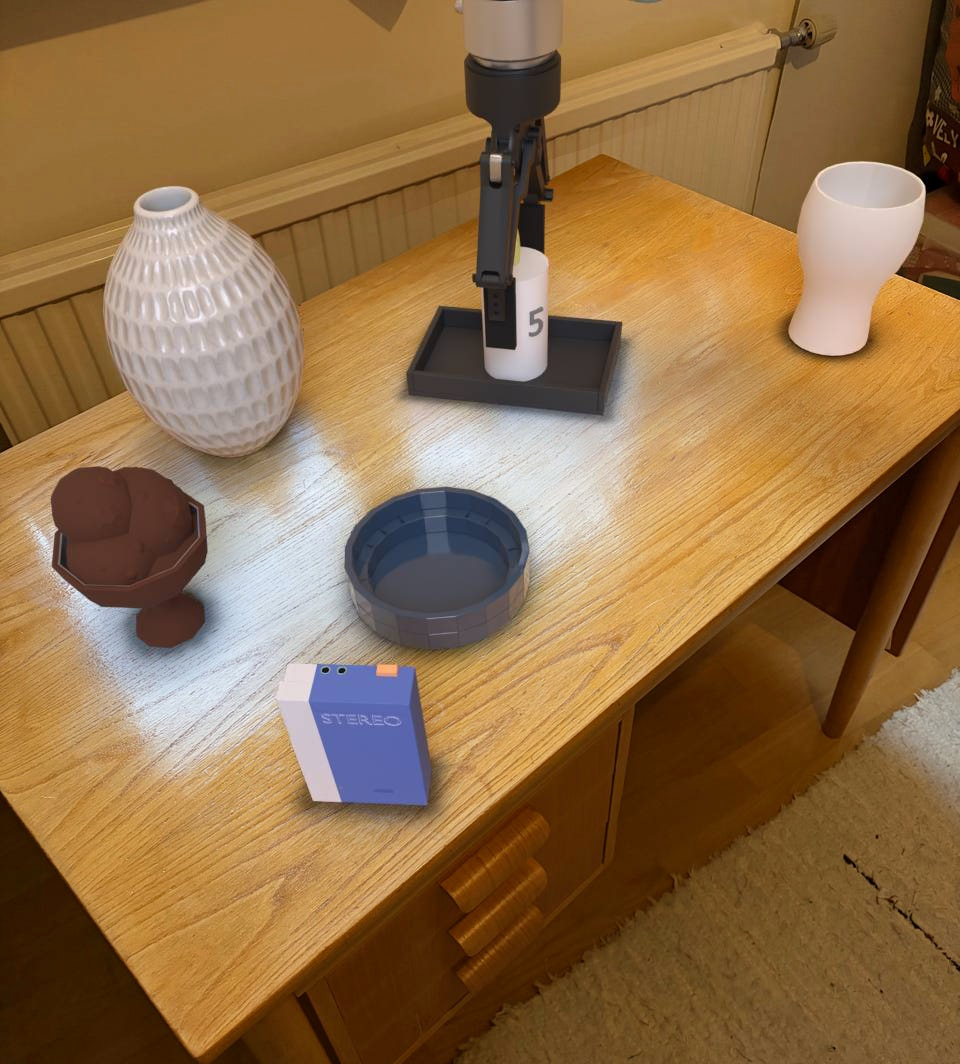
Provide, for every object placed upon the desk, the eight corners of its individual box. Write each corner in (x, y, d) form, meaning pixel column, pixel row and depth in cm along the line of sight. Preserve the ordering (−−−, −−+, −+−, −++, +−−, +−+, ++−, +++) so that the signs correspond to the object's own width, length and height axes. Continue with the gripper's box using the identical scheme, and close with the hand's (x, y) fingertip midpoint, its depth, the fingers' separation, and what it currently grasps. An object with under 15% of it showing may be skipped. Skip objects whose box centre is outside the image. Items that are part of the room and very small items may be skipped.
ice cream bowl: (158, 700, 67) (80, 556, 55) (73, 627, 72) (-15, 482, 60) (267, 614, 72) (216, 466, 60) (180, 552, 76) (118, 404, 65)
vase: (121, 433, 87) (21, 200, 70) (264, 364, 94) (204, 135, 76) (207, 517, 79) (117, 277, 62) (356, 435, 85) (312, 197, 68)
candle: (511, 391, 88) (508, 240, 76) (472, 361, 91) (463, 213, 80) (561, 366, 90) (565, 217, 79) (521, 338, 94) (519, 191, 82)
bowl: (543, 534, 76) (544, 498, 73) (507, 665, 67) (506, 631, 64) (382, 513, 78) (376, 477, 75) (328, 637, 70) (318, 602, 67)
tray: (620, 343, 93) (622, 321, 91) (603, 415, 86) (604, 393, 84) (440, 326, 97) (438, 305, 95) (408, 394, 89) (406, 373, 87)
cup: (755, 343, 92) (787, 193, 80) (800, 296, 97) (837, 149, 86) (856, 377, 88) (906, 224, 76) (898, 326, 93) (950, 175, 81)
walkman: (432, 770, 62) (414, 662, 53) (427, 806, 60) (408, 701, 51) (319, 765, 63) (282, 658, 53) (311, 801, 61) (271, 696, 52)
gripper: (499, -3, 78) (505, 240, 94) (421, 114, 63) (445, 379, 79) (586, -1, 76) (577, 245, 93) (528, 119, 61) (529, 387, 78)
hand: (516, 307), depth 86 cm, fingers open, 13 cm apart
